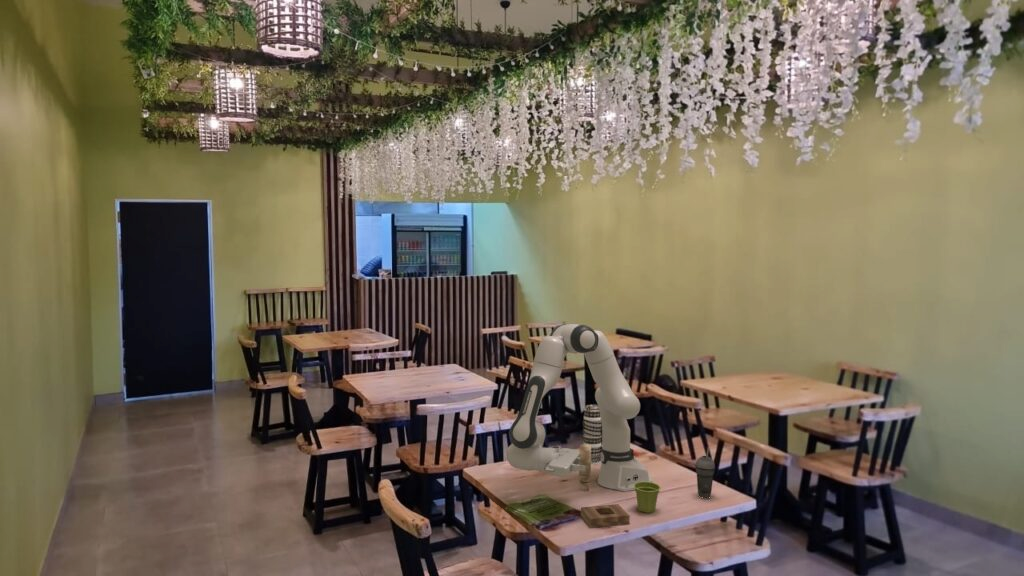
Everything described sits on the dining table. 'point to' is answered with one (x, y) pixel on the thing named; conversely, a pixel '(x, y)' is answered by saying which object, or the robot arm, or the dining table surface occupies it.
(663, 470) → the dining table surface
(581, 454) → the peg
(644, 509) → the plant pot
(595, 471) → the dining table surface
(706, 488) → the beverage cup
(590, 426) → the decorative candle
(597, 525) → the brown wooden frame
